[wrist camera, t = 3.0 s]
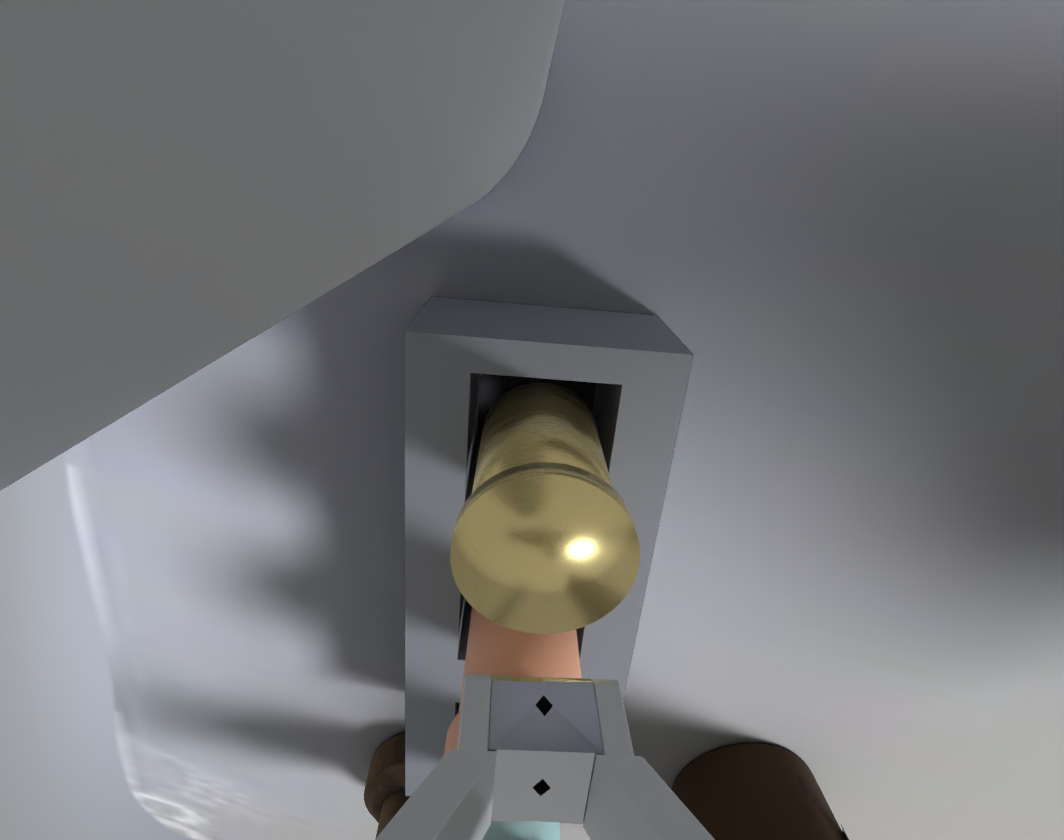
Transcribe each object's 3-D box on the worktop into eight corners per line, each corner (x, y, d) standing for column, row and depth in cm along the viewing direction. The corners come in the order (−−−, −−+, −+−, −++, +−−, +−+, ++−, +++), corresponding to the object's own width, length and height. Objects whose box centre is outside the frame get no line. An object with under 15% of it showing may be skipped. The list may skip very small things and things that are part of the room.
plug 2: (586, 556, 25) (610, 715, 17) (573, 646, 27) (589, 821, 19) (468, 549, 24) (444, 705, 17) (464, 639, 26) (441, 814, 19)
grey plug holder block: (657, 315, 26) (693, 354, 20) (590, 705, 35) (601, 805, 30) (431, 296, 25) (404, 331, 20) (424, 696, 35) (405, 796, 29)
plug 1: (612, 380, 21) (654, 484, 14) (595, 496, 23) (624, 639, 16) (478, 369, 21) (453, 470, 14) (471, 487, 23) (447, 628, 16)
